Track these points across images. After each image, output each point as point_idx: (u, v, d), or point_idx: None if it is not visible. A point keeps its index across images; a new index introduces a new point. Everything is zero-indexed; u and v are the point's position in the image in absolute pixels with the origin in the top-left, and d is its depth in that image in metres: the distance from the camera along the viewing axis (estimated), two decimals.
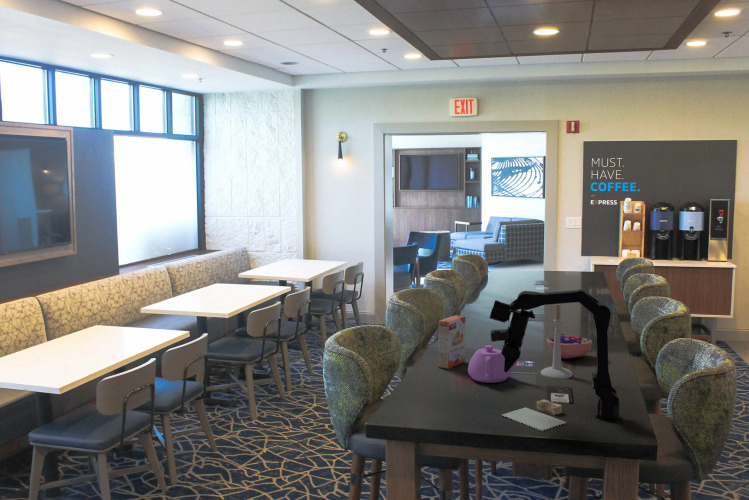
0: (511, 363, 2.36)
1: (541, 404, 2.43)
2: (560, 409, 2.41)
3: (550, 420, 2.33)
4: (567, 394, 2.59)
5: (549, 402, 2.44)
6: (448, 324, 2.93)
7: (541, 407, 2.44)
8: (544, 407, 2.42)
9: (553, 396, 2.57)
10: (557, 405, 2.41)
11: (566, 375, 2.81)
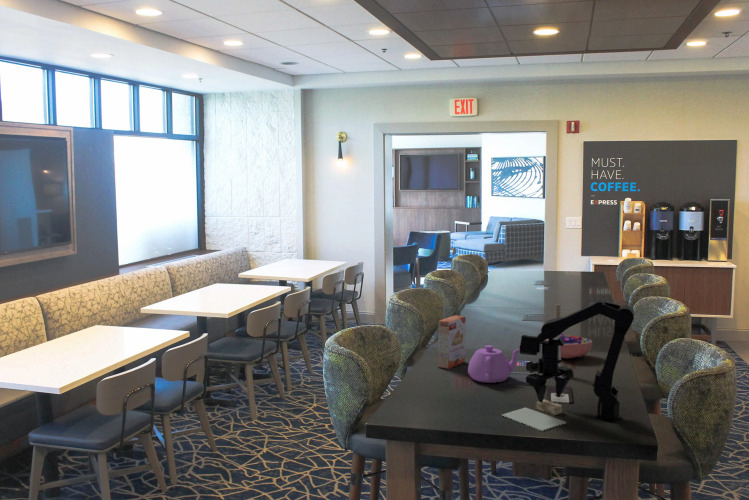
0: (540, 393, 2.38)
1: (541, 404, 2.43)
2: (560, 409, 2.41)
3: (550, 420, 2.33)
4: (567, 394, 2.59)
5: (549, 402, 2.44)
6: (448, 324, 2.93)
7: (541, 407, 2.44)
8: (545, 407, 2.42)
9: (553, 396, 2.57)
10: (557, 405, 2.41)
11: None
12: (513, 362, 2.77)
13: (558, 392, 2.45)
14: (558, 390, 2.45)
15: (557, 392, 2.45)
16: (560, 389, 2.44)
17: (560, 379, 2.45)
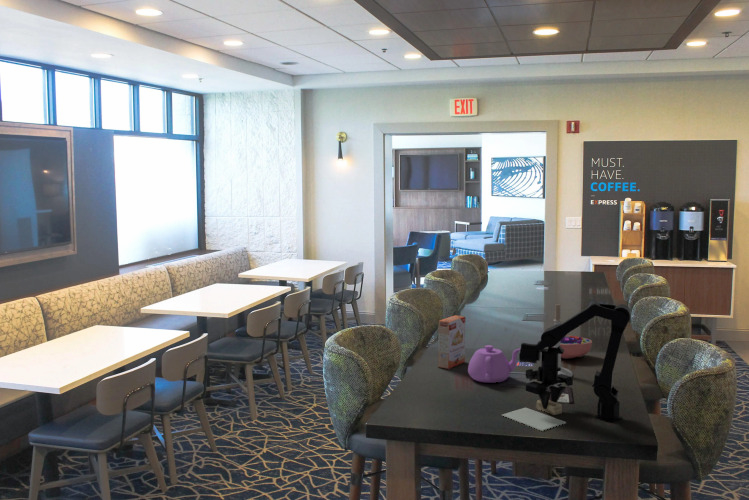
0: (545, 399, 2.40)
1: (541, 403, 2.43)
2: (560, 408, 2.41)
3: (550, 420, 2.33)
4: (567, 394, 2.59)
5: (549, 401, 2.44)
6: (448, 324, 2.93)
7: (541, 406, 2.44)
8: None
9: None
10: (557, 404, 2.41)
11: None
12: (513, 362, 2.77)
13: (553, 401, 2.44)
14: (553, 399, 2.44)
15: None
16: (555, 398, 2.43)
17: (555, 388, 2.44)
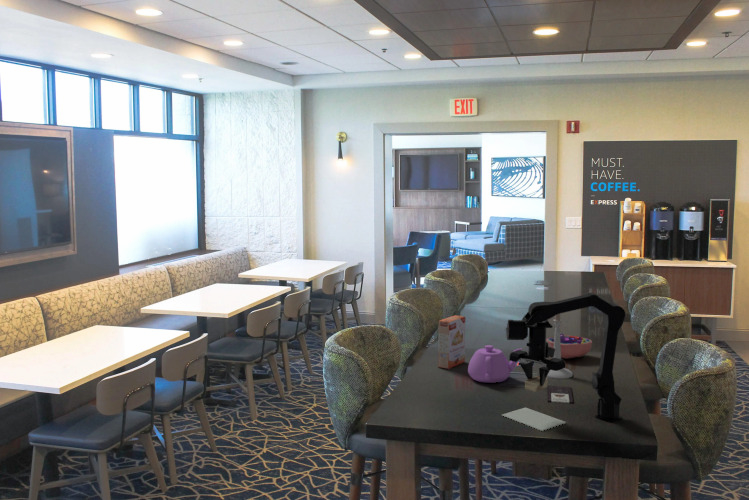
0: None
1: None
2: (533, 386, 2.32)
3: (550, 420, 2.33)
4: (567, 394, 2.59)
5: (539, 379, 2.35)
6: (448, 324, 2.93)
7: None
8: None
9: (553, 396, 2.57)
10: (533, 382, 2.33)
11: (566, 375, 2.81)
12: (513, 362, 2.77)
13: None
14: None
15: None
16: None
17: None
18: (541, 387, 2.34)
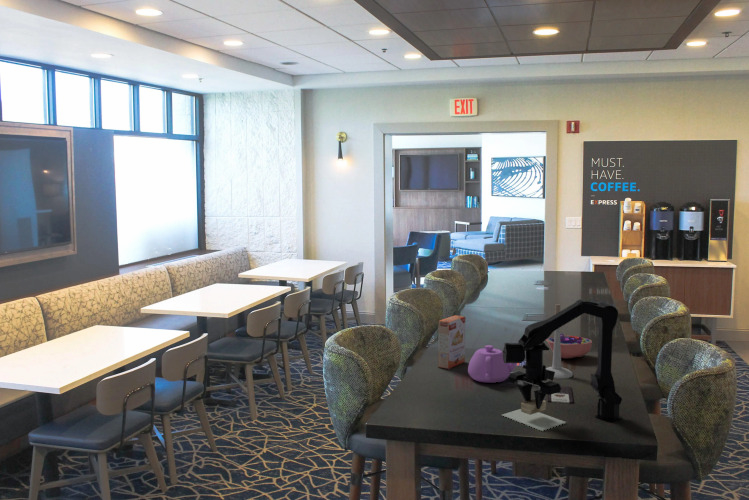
0: None
1: None
2: (528, 409, 2.31)
3: (550, 420, 2.33)
4: (567, 394, 2.59)
5: None
6: (448, 324, 2.93)
7: None
8: None
9: (553, 396, 2.57)
10: (528, 404, 2.32)
11: (566, 375, 2.81)
12: None
13: None
14: None
15: None
16: None
17: None
18: (538, 410, 2.33)
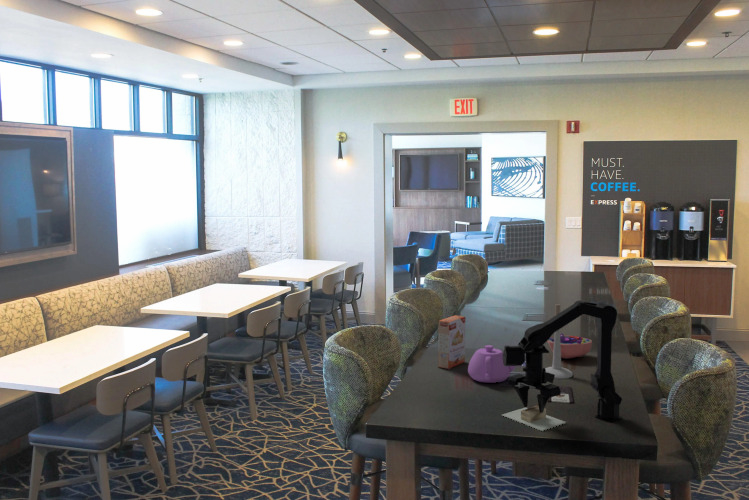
0: None
1: None
2: (528, 417, 2.31)
3: (550, 420, 2.33)
4: (567, 394, 2.59)
5: (536, 410, 2.34)
6: (448, 324, 2.93)
7: None
8: None
9: None
10: (528, 412, 2.32)
11: (566, 375, 2.81)
12: None
13: None
14: None
15: None
16: None
17: None
18: (538, 418, 2.33)
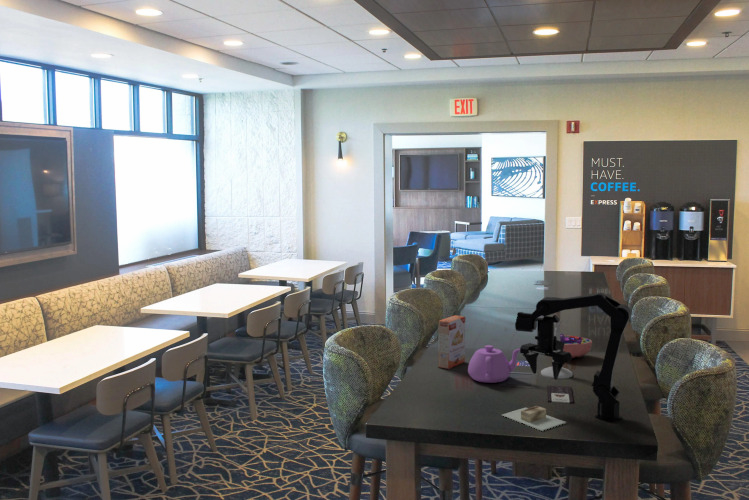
0: None
1: None
2: (528, 417, 2.31)
3: (550, 420, 2.33)
4: (567, 394, 2.59)
5: (536, 410, 2.34)
6: (448, 324, 2.93)
7: None
8: None
9: (553, 396, 2.57)
10: (528, 412, 2.32)
11: (566, 375, 2.81)
12: (513, 362, 2.77)
13: None
14: None
15: None
16: None
17: None
18: (538, 418, 2.33)
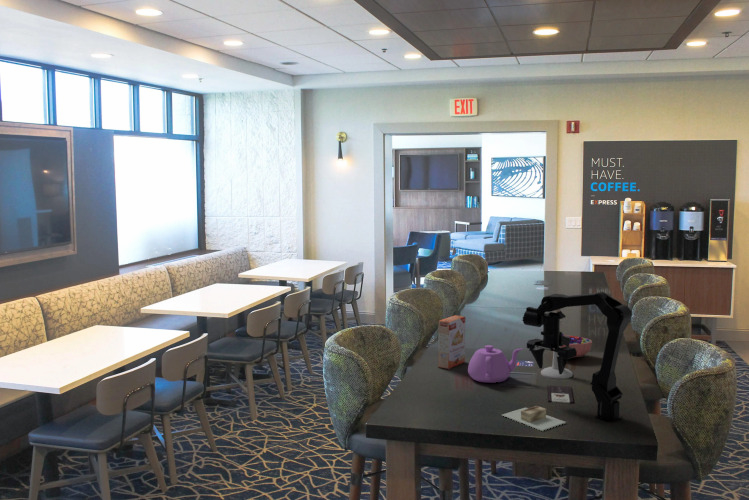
0: None
1: None
2: (528, 417, 2.31)
3: (550, 420, 2.33)
4: (567, 394, 2.59)
5: (536, 410, 2.34)
6: (448, 324, 2.93)
7: None
8: None
9: (554, 396, 2.57)
10: (528, 412, 2.32)
11: (566, 375, 2.81)
12: (513, 362, 2.77)
13: None
14: None
15: None
16: None
17: None
18: (538, 418, 2.33)
